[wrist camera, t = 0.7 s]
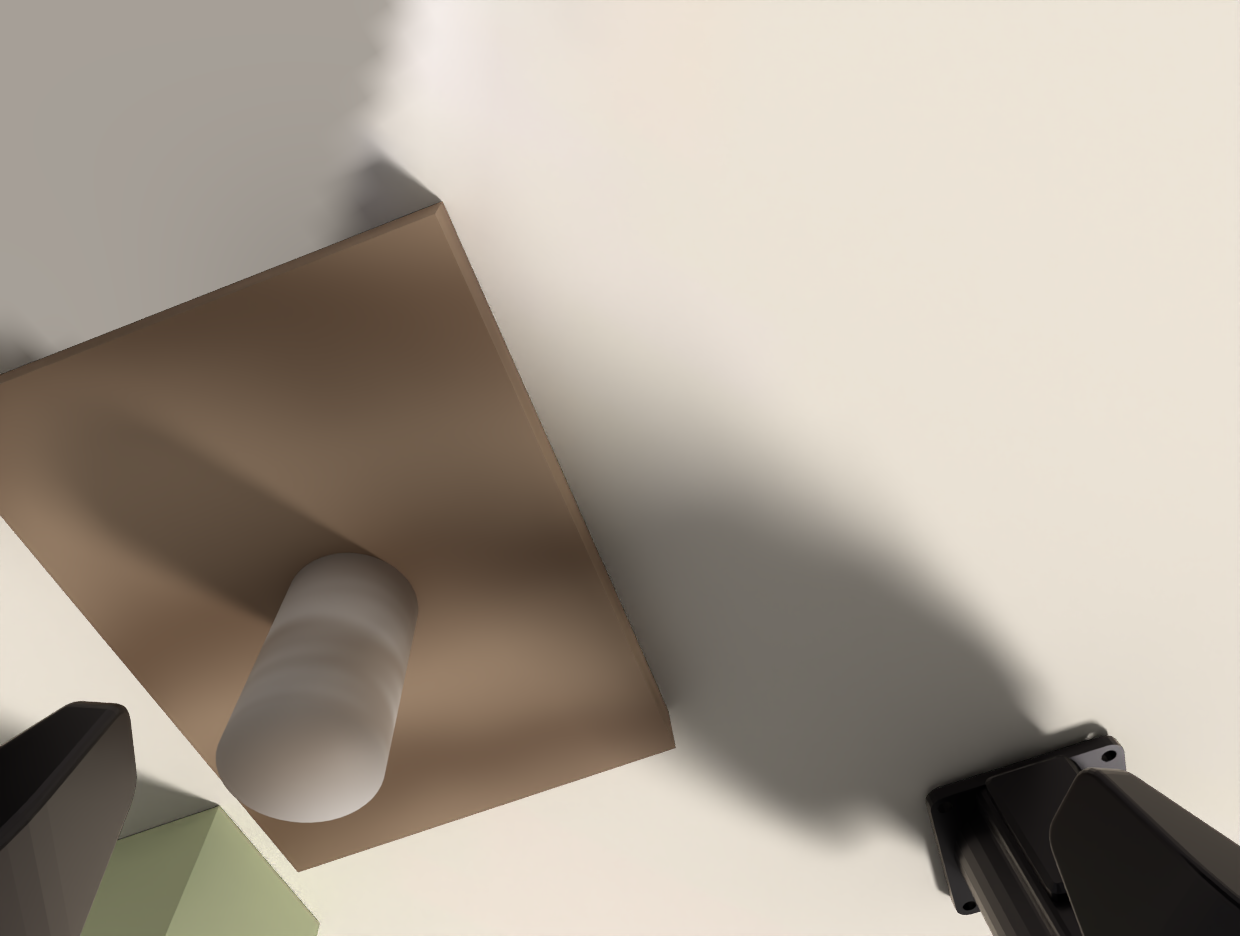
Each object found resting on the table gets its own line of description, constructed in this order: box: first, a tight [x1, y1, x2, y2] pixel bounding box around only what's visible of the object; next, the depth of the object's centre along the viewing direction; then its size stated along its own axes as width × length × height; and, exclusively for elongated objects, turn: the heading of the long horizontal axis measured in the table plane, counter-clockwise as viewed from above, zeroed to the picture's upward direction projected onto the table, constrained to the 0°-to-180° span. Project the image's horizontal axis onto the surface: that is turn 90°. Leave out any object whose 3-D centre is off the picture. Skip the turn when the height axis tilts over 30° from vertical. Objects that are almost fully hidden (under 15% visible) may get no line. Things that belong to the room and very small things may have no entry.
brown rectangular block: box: [0, 201, 676, 872], centre depth 19 cm, size 16×12×7 cm
